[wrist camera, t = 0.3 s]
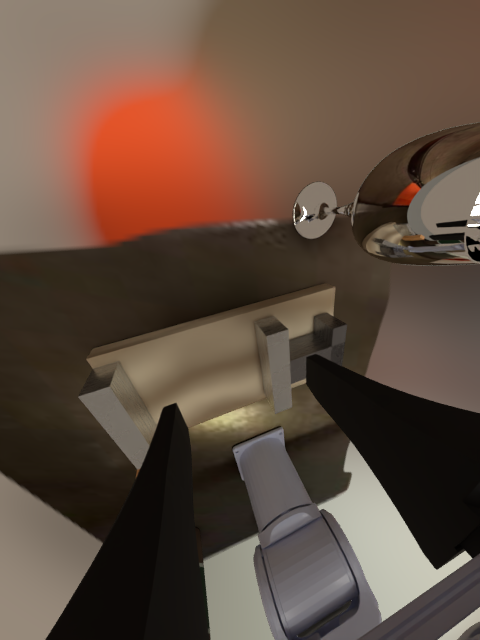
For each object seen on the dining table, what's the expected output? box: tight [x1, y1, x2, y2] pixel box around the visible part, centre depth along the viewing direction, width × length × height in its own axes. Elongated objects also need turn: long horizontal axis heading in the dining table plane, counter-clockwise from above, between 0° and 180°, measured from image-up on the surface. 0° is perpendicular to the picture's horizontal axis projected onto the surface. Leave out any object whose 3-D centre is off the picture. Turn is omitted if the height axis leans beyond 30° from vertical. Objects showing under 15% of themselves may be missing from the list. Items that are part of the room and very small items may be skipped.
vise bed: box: [86, 283, 335, 428], centre depth 21 cm, size 12×23×2 cm, turn 100°
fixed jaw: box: [78, 361, 157, 469], centre depth 17 cm, size 10×2×3 cm, turn 10°
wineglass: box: [293, 122, 480, 266], centre depth 12 cm, size 6×6×12 cm
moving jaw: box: [254, 313, 347, 414], centre depth 21 cm, size 10×8×3 cm
